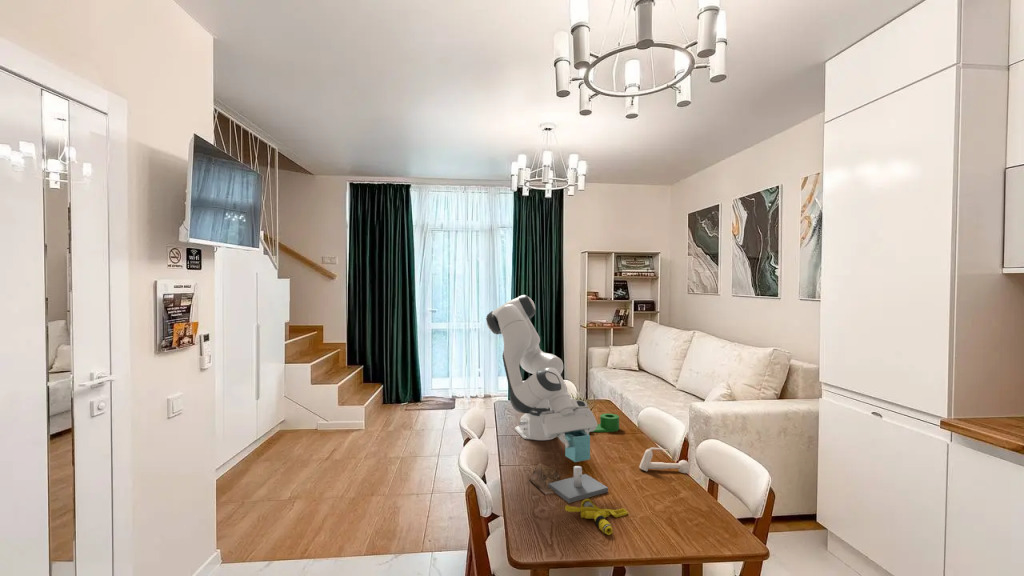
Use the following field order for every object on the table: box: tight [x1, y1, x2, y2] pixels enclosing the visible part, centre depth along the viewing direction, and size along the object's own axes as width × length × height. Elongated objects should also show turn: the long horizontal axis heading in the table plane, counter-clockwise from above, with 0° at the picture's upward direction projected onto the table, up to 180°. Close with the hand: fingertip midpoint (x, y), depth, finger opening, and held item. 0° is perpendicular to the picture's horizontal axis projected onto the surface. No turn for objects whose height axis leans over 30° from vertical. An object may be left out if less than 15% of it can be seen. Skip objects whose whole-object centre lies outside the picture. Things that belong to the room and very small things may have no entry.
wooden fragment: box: [529, 462, 560, 496], centre depth 153 cm, size 26×11×1 cm, turn 179°
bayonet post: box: [548, 465, 609, 504], centre depth 144 cm, size 12×16×8 cm
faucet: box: [639, 447, 690, 474], centre depth 160 cm, size 4×18×10 cm, turn 86°
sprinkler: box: [564, 498, 629, 536], centre depth 125 cm, size 19×4×15 cm
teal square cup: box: [564, 430, 591, 463], centre depth 144 cm, size 6×6×8 cm
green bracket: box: [589, 413, 620, 434], centre depth 208 cm, size 18×9×6 cm, turn 97°
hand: (578, 445), depth 144 cm, fingers closed on teal square cup, 6 cm apart
